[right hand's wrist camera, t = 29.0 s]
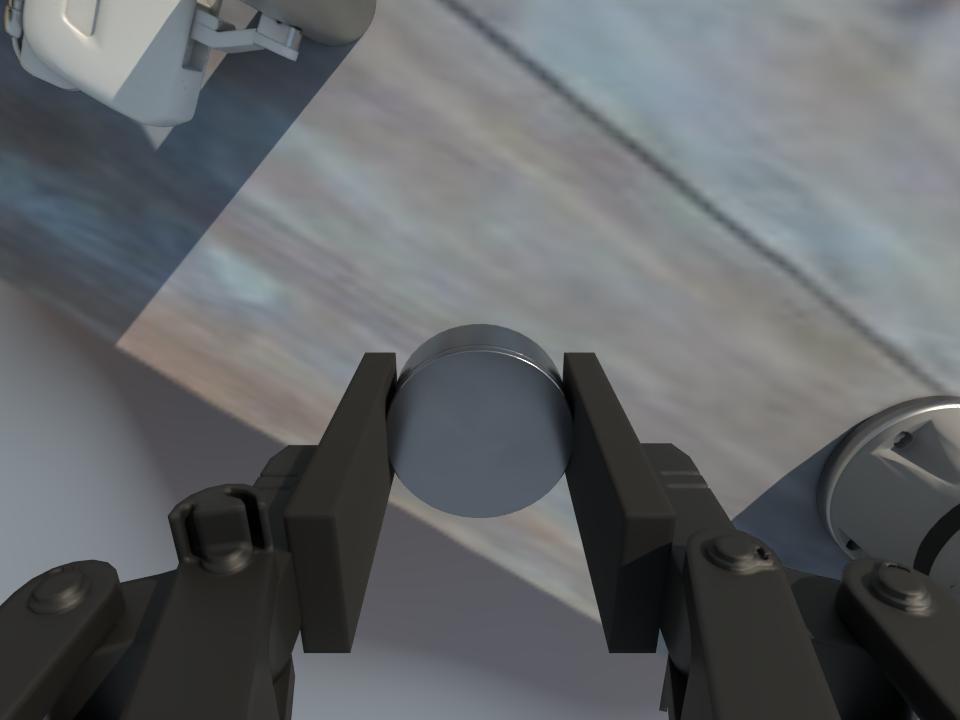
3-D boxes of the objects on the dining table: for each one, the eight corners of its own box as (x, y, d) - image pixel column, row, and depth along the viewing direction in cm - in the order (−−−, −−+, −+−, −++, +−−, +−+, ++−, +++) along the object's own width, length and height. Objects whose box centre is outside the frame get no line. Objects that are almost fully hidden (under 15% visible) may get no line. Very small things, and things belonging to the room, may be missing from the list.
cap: (364, 425, 15) (349, 463, 13) (452, 289, 14) (449, 312, 12) (503, 501, 16) (505, 546, 14) (598, 380, 14) (614, 414, 13)
